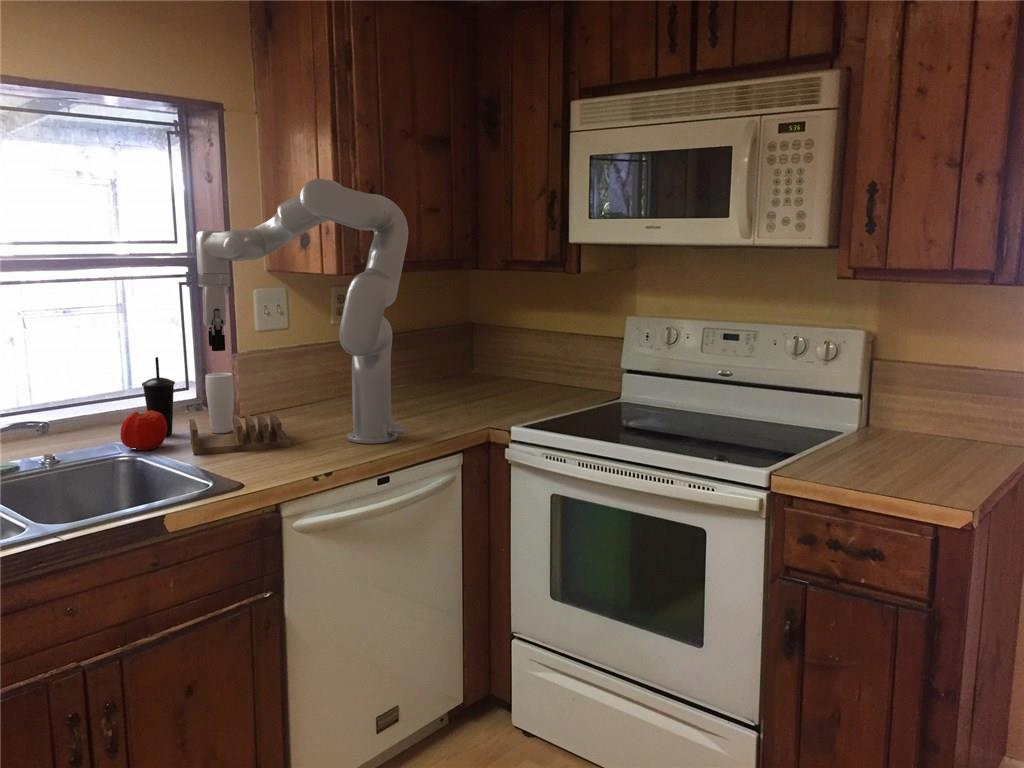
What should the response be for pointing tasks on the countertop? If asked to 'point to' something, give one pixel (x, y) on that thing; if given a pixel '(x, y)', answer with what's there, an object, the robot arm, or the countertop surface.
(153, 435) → the tomato
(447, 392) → the countertop surface
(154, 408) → the drinking cup
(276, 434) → the rack
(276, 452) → the countertop surface
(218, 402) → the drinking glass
